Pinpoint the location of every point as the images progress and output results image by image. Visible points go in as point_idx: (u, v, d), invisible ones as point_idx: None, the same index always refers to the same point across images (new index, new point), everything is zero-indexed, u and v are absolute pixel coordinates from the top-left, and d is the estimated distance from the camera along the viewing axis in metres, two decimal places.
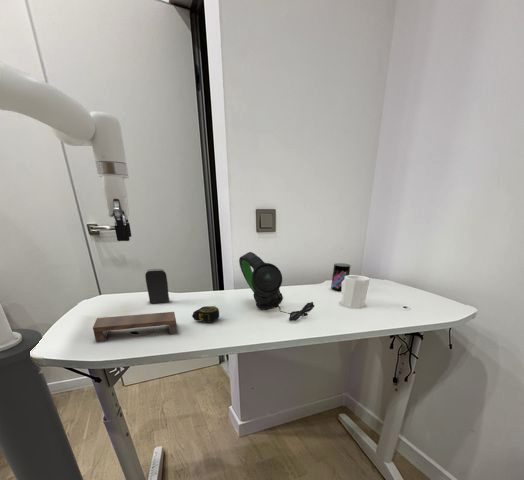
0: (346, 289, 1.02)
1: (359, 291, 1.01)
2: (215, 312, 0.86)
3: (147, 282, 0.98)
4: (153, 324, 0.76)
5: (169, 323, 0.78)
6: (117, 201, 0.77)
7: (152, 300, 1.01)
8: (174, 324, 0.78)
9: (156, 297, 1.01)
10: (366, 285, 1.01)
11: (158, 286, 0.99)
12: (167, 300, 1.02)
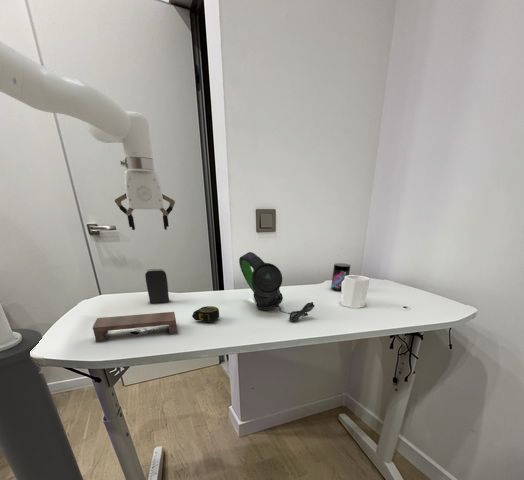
0: (346, 289, 1.02)
1: (359, 291, 1.01)
2: (215, 312, 0.86)
3: (147, 282, 0.98)
4: (153, 324, 0.76)
5: (169, 323, 0.78)
6: None
7: (152, 300, 1.01)
8: (174, 324, 0.78)
9: (156, 297, 1.01)
10: (366, 285, 1.01)
11: (158, 286, 0.99)
12: (167, 300, 1.02)
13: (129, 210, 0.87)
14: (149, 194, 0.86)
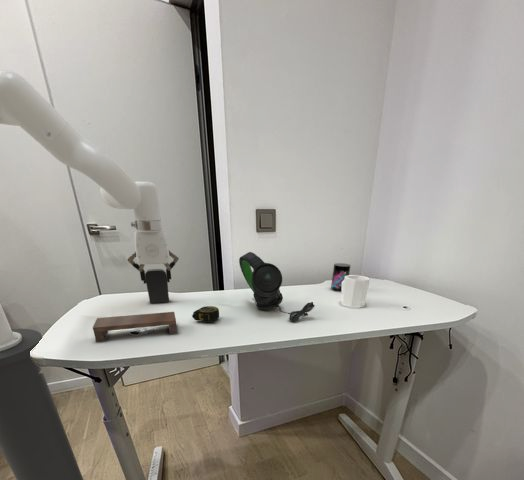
0: (346, 289, 1.02)
1: (359, 292, 1.01)
2: (215, 312, 0.86)
3: (147, 282, 0.98)
4: (153, 324, 0.76)
5: (169, 323, 0.78)
6: None
7: (152, 300, 1.01)
8: (174, 324, 0.78)
9: (156, 297, 1.01)
10: (366, 285, 1.01)
11: (158, 286, 0.99)
12: (167, 300, 1.02)
13: (141, 266, 0.95)
14: (157, 251, 0.94)
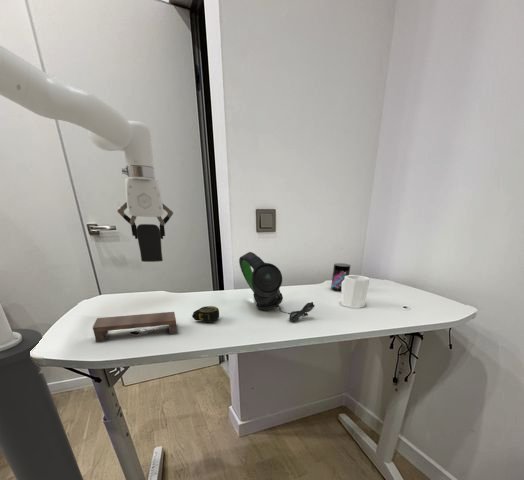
0: (346, 289, 1.02)
1: (359, 291, 1.01)
2: (215, 312, 0.86)
3: (139, 237, 0.91)
4: (153, 324, 0.76)
5: (169, 323, 0.78)
6: None
7: (144, 258, 0.94)
8: (174, 324, 0.78)
9: (148, 255, 0.94)
10: (366, 285, 1.01)
11: (151, 243, 0.93)
12: (160, 259, 0.96)
13: (132, 219, 0.89)
14: (149, 202, 0.87)
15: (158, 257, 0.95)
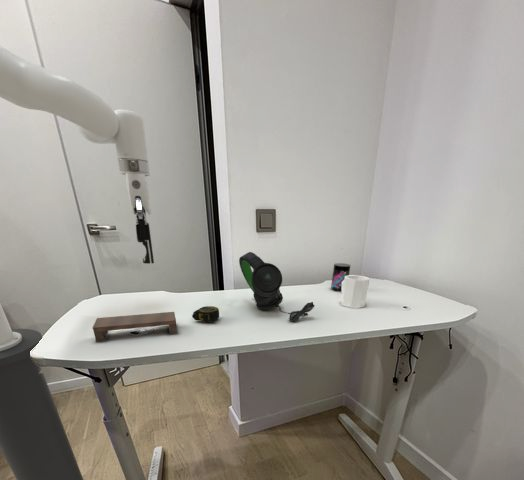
0: (346, 289, 1.02)
1: (359, 291, 1.01)
2: (215, 312, 0.86)
3: (150, 237, 0.85)
4: (153, 324, 0.76)
5: (169, 323, 0.78)
6: None
7: (153, 259, 0.88)
8: (174, 324, 0.78)
9: None
10: (366, 285, 1.01)
11: None
12: None
13: None
14: None
15: None
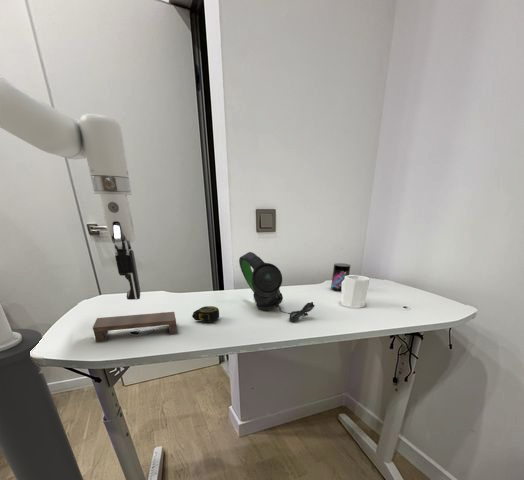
0: (346, 289, 1.02)
1: (359, 291, 1.01)
2: (215, 312, 0.86)
3: (134, 269, 0.70)
4: (153, 324, 0.76)
5: (169, 323, 0.78)
6: None
7: (139, 294, 0.73)
8: (174, 324, 0.78)
9: (138, 288, 0.74)
10: (366, 285, 1.01)
11: (136, 273, 0.73)
12: None
13: (127, 247, 0.66)
14: None
15: (139, 288, 0.77)
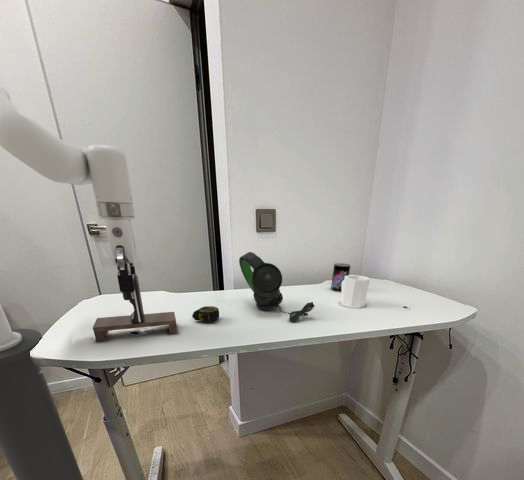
0: (346, 289, 1.02)
1: (359, 291, 1.01)
2: (215, 312, 0.86)
3: (138, 294, 0.72)
4: (153, 324, 0.76)
5: (169, 323, 0.78)
6: None
7: (143, 316, 0.76)
8: (174, 324, 0.78)
9: (142, 311, 0.77)
10: (366, 285, 1.01)
11: (140, 296, 0.76)
12: (143, 312, 0.80)
13: (129, 268, 0.67)
14: None
15: None
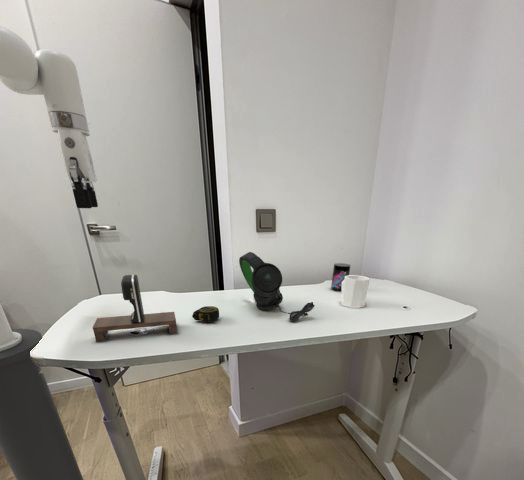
0: (346, 289, 1.02)
1: (359, 292, 1.01)
2: (215, 312, 0.86)
3: (138, 294, 0.72)
4: (153, 324, 0.76)
5: (169, 323, 0.78)
6: None
7: (143, 316, 0.76)
8: (174, 324, 0.78)
9: (142, 311, 0.77)
10: (366, 285, 1.01)
11: (140, 296, 0.76)
12: (143, 312, 0.80)
13: (85, 182, 0.69)
14: (92, 163, 0.73)
15: None
